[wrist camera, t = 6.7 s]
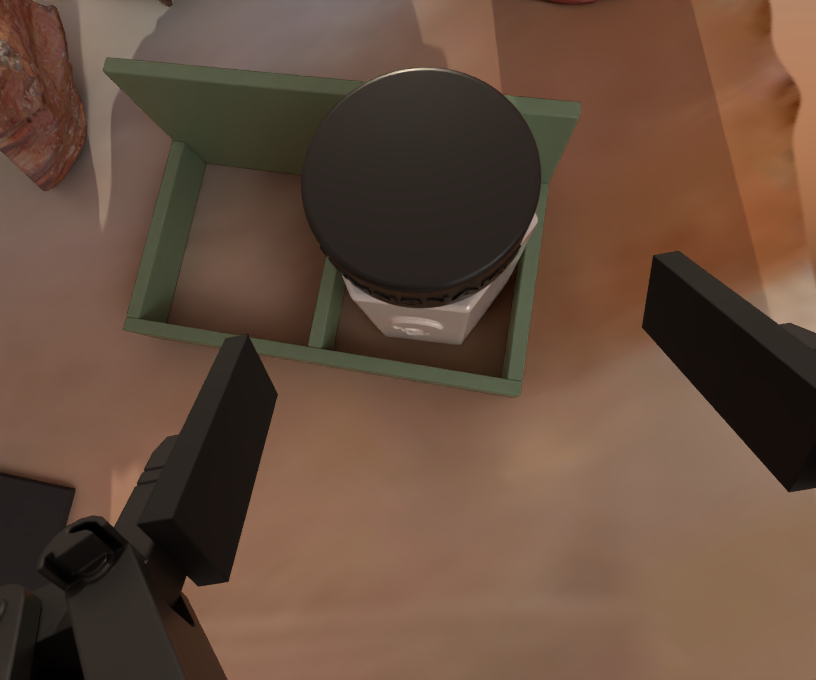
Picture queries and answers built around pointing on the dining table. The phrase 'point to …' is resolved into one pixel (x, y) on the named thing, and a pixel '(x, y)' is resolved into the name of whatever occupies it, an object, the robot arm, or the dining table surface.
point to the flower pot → (573, 1)
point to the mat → (29, 526)
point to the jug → (167, 2)
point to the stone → (38, 93)
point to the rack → (285, 152)
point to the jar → (423, 198)
